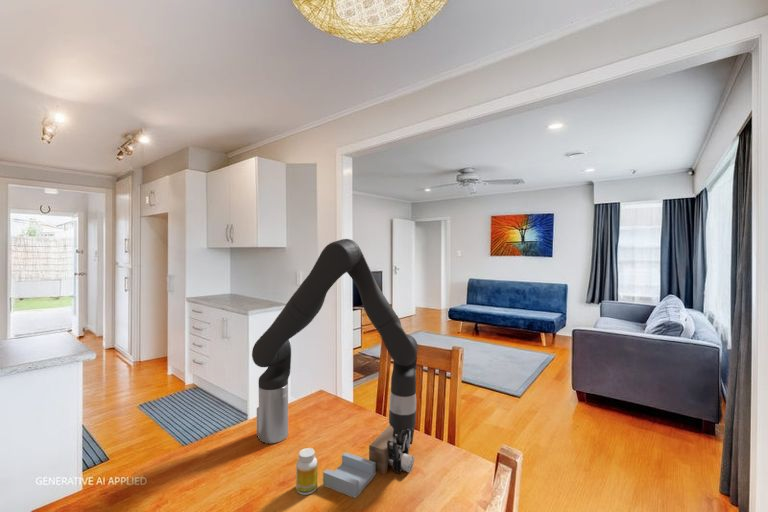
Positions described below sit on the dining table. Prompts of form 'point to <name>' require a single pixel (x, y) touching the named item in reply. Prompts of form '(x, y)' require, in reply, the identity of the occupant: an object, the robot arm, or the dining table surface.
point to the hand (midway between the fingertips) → (400, 466)
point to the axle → (403, 462)
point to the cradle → (350, 475)
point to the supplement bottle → (306, 472)
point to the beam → (381, 449)
